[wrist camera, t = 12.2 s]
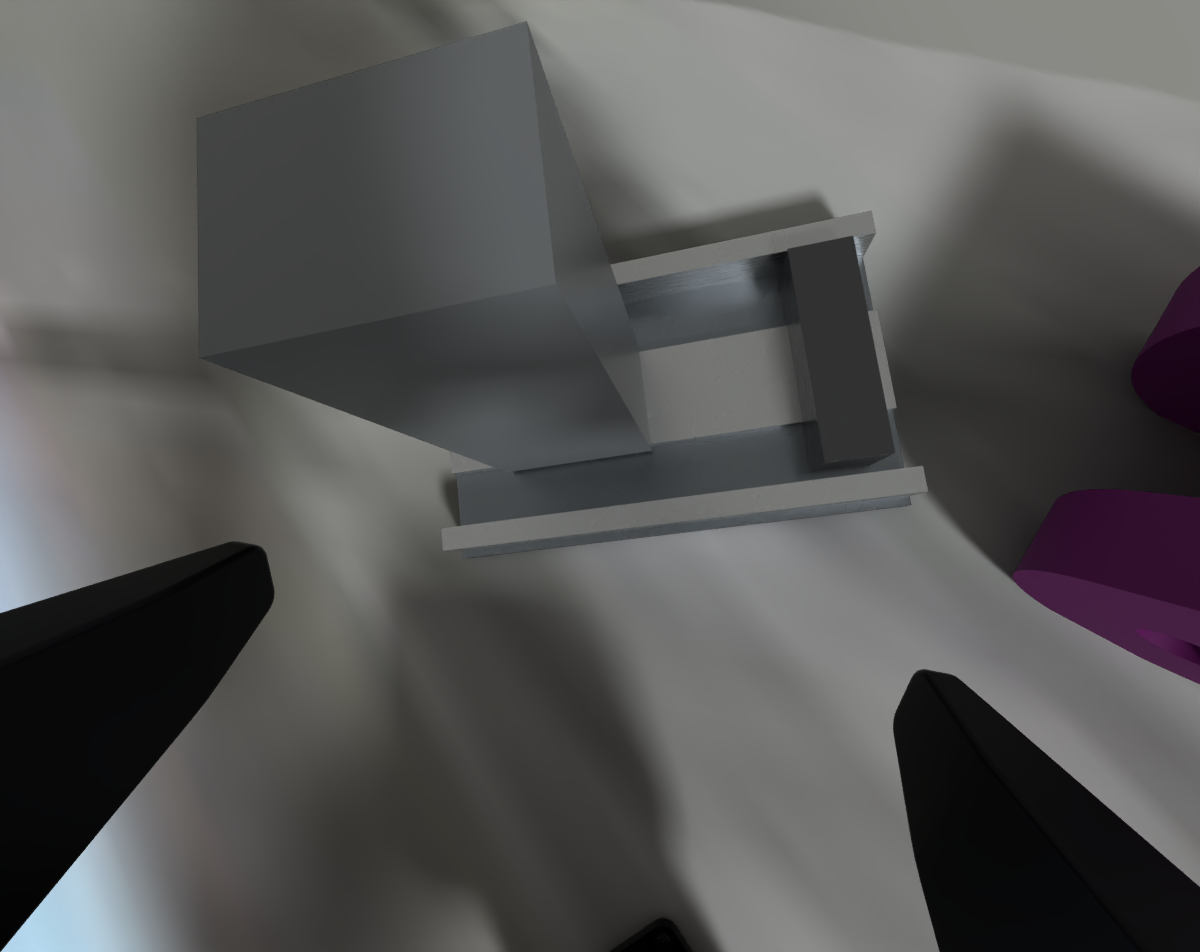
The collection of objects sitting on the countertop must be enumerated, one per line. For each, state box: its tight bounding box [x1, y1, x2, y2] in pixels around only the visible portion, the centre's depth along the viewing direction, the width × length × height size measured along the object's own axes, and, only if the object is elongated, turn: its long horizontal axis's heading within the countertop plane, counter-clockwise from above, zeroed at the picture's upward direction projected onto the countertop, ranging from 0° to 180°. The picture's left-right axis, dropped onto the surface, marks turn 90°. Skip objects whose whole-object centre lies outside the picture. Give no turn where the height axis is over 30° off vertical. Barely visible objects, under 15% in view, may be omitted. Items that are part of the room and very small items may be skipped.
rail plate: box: [441, 211, 928, 558], centre depth 20 cm, size 16×10×3 cm, turn 97°
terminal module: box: [197, 21, 652, 472], centre depth 14 cm, size 5×6×13 cm
